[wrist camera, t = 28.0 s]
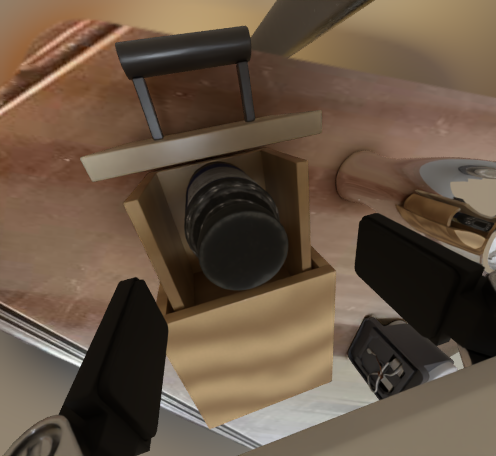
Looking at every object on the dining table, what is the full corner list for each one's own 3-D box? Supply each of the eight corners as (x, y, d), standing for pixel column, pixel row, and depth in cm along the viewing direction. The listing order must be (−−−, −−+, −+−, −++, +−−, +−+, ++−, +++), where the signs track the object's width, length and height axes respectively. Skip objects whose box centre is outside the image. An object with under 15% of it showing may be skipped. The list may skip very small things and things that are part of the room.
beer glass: (339, 144, 23) (531, 169, 10) (391, 147, 25) (611, 171, 12) (326, 204, 26) (461, 284, 13) (372, 203, 28) (533, 273, 15)
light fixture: (390, 344, 47) (444, 399, 38) (342, 355, 43) (389, 421, 33) (413, 307, 43) (480, 359, 33) (362, 315, 38) (422, 378, 29)
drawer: (99, 73, 16) (8, 22, 8) (262, 49, 17) (322, -12, 9) (181, 276, 25) (177, 346, 17) (283, 247, 26) (322, 298, 19)
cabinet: (166, 247, 24) (150, 329, 14) (282, 216, 26) (336, 270, 16) (203, 336, 31) (209, 429, 22) (291, 307, 33) (332, 381, 24)
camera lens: (244, 224, 22) (285, 301, 13) (183, 220, 21) (178, 305, 11) (255, 165, 20) (317, 203, 10) (188, 154, 18) (187, 188, 9)
